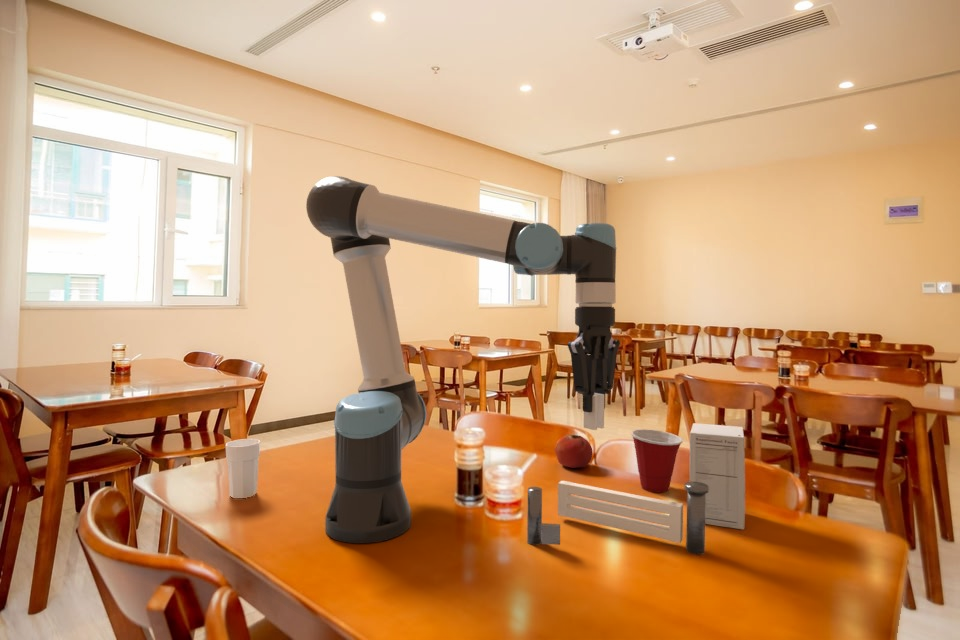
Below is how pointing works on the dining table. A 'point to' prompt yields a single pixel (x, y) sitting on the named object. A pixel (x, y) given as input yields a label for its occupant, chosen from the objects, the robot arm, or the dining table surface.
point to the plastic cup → (655, 458)
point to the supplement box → (720, 472)
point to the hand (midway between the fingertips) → (593, 427)
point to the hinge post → (696, 517)
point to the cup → (242, 467)
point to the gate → (621, 510)
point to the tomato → (573, 451)
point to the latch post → (539, 521)
